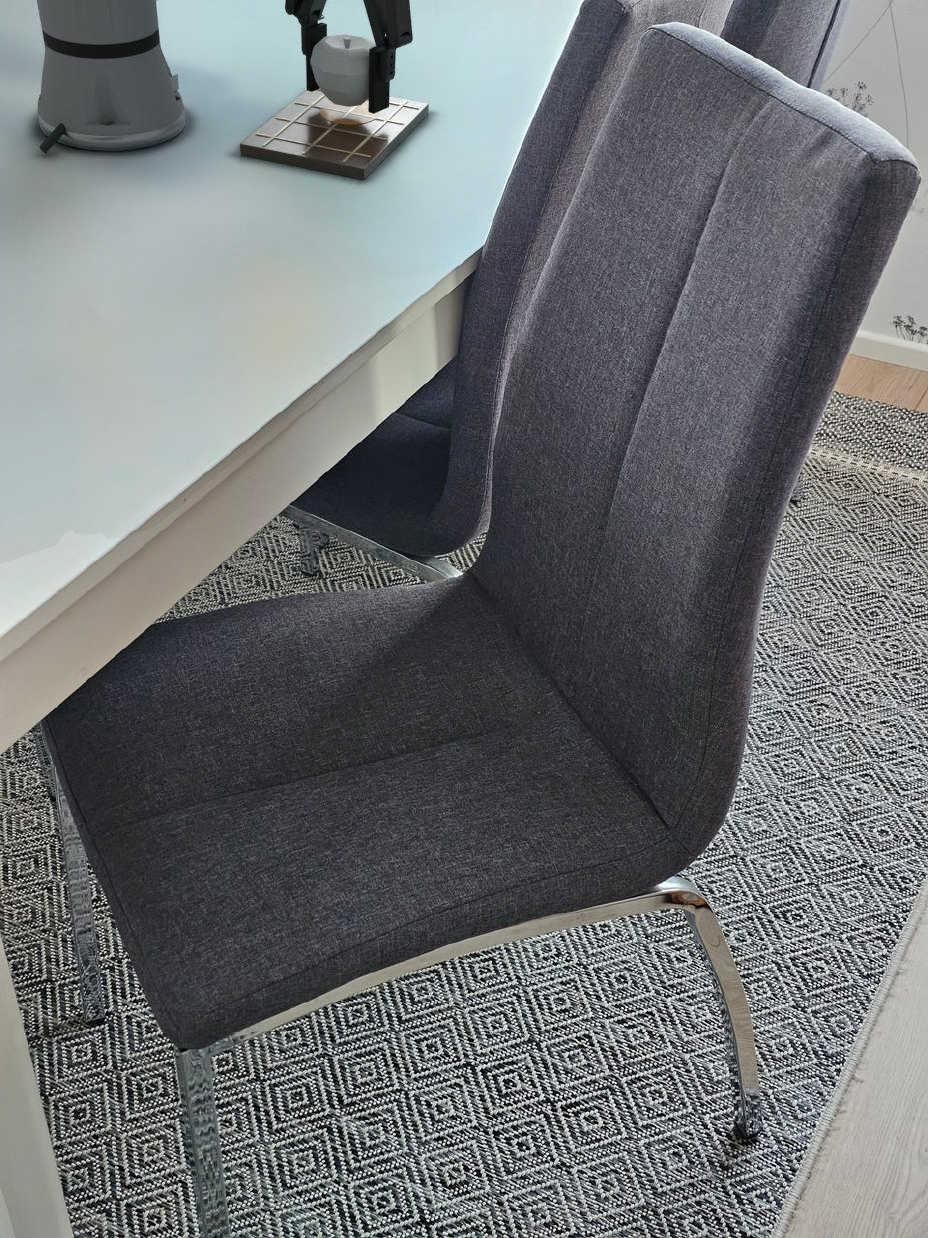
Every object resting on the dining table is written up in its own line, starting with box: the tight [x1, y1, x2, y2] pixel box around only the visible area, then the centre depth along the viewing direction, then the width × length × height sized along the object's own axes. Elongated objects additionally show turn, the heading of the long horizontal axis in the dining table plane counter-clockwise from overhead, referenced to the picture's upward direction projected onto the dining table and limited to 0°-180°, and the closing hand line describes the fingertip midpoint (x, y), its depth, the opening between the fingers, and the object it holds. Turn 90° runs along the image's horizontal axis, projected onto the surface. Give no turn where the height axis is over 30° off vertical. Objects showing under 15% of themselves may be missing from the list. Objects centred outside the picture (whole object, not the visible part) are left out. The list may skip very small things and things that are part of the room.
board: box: [239, 89, 430, 181], centre depth 131 cm, size 20×14×1 cm
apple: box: [310, 33, 376, 107], centre depth 130 cm, size 8×8×7 cm
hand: (347, 98), depth 132 cm, fingers closed on apple, 8 cm apart
